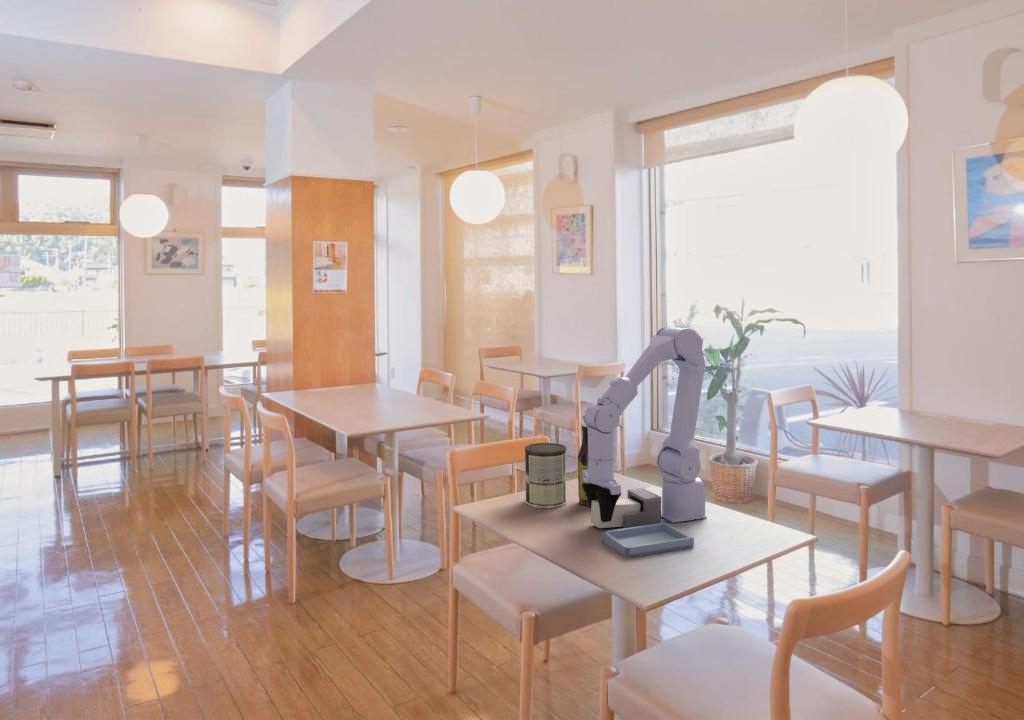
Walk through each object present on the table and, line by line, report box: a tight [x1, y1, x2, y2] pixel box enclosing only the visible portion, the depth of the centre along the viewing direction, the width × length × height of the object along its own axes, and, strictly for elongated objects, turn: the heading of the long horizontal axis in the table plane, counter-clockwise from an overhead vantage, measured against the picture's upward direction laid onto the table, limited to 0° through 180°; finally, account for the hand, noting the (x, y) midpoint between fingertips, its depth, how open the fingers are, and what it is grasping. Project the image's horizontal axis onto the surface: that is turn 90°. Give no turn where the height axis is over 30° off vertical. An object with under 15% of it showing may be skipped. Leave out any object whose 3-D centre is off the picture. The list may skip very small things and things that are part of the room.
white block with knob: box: [589, 498, 640, 529], centre depth 162 cm, size 10×4×6 cm, turn 111°
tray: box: [601, 522, 695, 559], centre depth 150 cm, size 16×11×2 cm
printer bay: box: [622, 487, 662, 529], centre depth 163 cm, size 9×8×6 cm
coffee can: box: [524, 442, 567, 509], centre depth 179 cm, size 10×10×14 cm
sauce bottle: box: [577, 423, 589, 506], centre depth 178 cm, size 6×6×20 cm
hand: (601, 517), depth 161 cm, fingers closed on white block with knob, 4 cm apart
